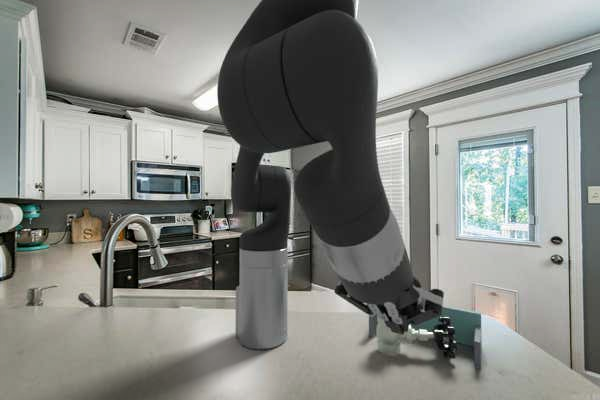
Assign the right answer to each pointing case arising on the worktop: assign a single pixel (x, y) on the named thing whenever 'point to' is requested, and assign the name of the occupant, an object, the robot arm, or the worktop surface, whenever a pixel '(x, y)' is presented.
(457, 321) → the walled bay
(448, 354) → the valve
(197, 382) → the worktop surface
